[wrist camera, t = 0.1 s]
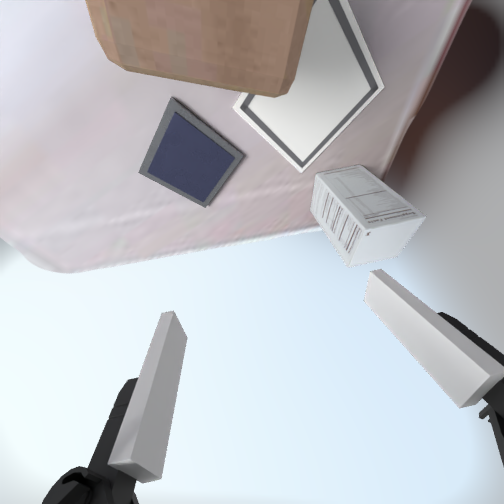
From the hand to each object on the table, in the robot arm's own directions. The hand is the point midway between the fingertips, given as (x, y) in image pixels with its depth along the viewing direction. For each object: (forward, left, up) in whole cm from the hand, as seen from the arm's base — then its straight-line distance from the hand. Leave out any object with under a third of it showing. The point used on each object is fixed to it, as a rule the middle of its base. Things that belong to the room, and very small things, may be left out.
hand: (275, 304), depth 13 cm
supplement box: (-6, +22, -28) cm, 36 cm away
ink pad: (+6, -4, -28) cm, 29 cm away
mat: (-12, +5, -28) cm, 31 cm away
